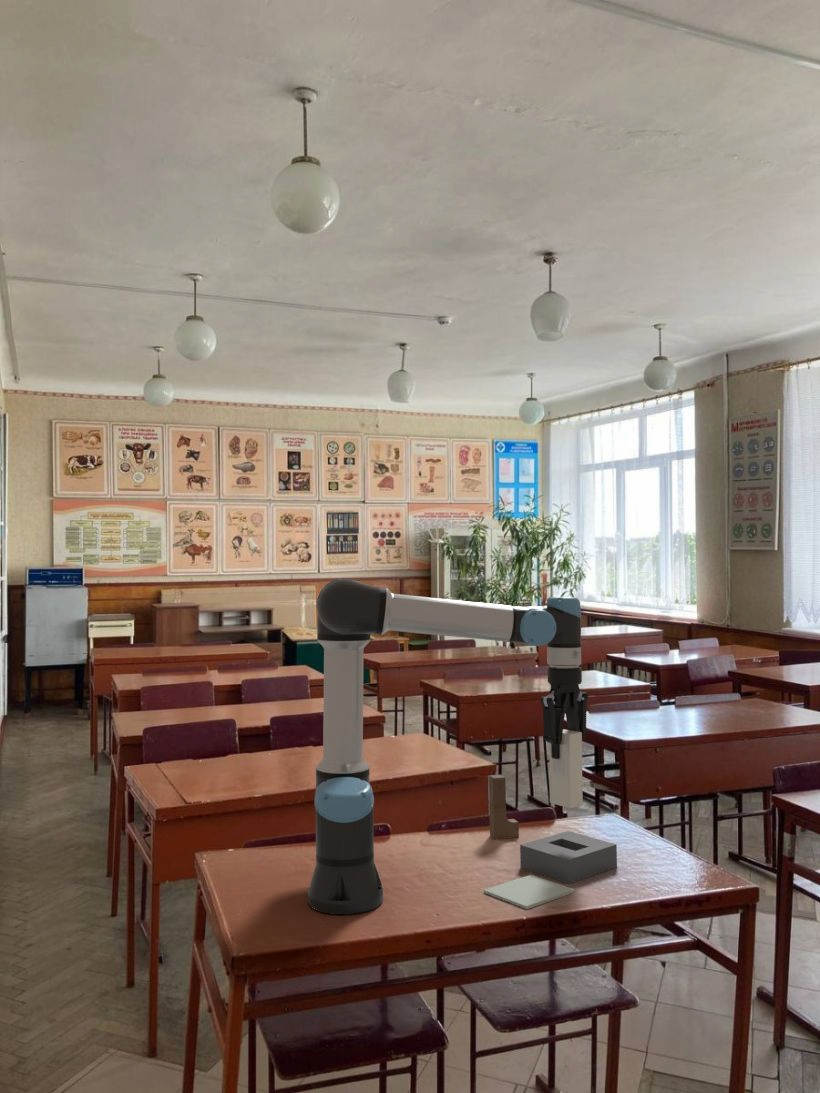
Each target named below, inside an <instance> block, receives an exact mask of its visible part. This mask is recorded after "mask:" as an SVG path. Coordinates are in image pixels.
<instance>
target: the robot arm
mask: <svg viewBox="0 0 820 1093" xmlns="http://www.w3.org/2000/svg"><path fill="white" fill-rule="evenodd" d="M316 610H317V611H316V612H317V615H316V616H317V623H316V624H317V625H316V626H317V628H316V630H317V632H316V633H317V634H316V636H317V637H316V638H317V639H316V641H317V643H319V645H321V646H322V648H323V654H324V655H323V718H322V719H323V720H322V721H323V724H322V726H323V728H322V729H323V731H322V732H323V733H322V734H323V738H322V739H323V740H322V743H323V744H322V755H323V756H322V759H321V761H320V762H319V763H317V765H316V766H315V792H314V801H313V802H314V808H315V866H314V869H313V872H312V876H311V880H310V883H309V887H308V890H307V904H308V903H309V905H310V906H311V907H313V908H315V909H317V910H319V911H322V912H326V913H325V914H327V913H333V914H332V915H337V914H345V915H355V913H356V914H361V913H366V912H368V911H371V910H374V909H376V908H378V907H379V906H381V905H382V904H383V902H384V887H383V884H382V881H381V878H380V875H379V872H378V869H377V867H376V863H375V851H374V850H375V848H374V847H375V846H374V842H375V840H374V836H375V835H374V830H375V829H374V804H375V797H374V792H373V788H372V785H371V784H370V765H369V763H367V761H366V760H365V759H364V756H363V752H364V745H363V744H364V739H363V737H364V733H363V732H364V730H363V729H364V648H365V647H367V645H368V644H369V643H370V642H371V635H372V634H373V635H384V634H386V633H387V632H388V631H391V632H392V631H393V632H394V631H395V632H402V633H403V632H404V633H413V634H422V635H423V634H424V635H435V636H445V637H453V638H454V637H456V638H466V639H473V640H474V639H475V640H485V641H486V640H487V641H496V642H507V643H515V644H525V645H529V646H533V647H541V646H545V645H547V647H546V648H547V649H546V651H547V652H546V655H547V656H546V659H547V660H546V661H547V662H546V663H547V664H548V668H547V683H548V684H549V685H550V690H549V694H548V695H546V696H541V697H540V702H541V706H542V716H543V717H542V718H543V719H542V721H543V722H542V723H543V724H542V725H543V740H544V741H545V742H547V743H551V751H552V752H551V753H552V754H551V756H552V758H553V773H558V774H564V744H561V741H562V733H563V729H564V725H565V723H564V722H565V720H566V725H567V730H571V731H577V732H582V742H583V741H584V738H585V737H587V702H588V700H589V699H588V698H589V693H588V692H585V691H584V692H583V691H581V689H580V686H579V685H581V684H582V681H583V679H582V678H583V674H582V673H583V670H582V668H581V667H580V666H581V665H582V618H583V617H582V610H581V602H580V599H579V598H578V597H576V596H550V597H547V599H546V603H545V605H540V606H537V605H536V606H535V605H534V606H531V605H529V606H528V605H521V606H520V605H519V606H518V605H515V606H512V605H505V604H498V603H497V604H495V603H488V602H487V603H485V602H479V601H478V602H475V601H465V600H456V599H450V598H449V599H447V598H438V597H428V596H420V595H410V594H409V595H408V594H398V593H392V591H390V589H389V588H388V587H380V586H373V585H371V584H365V583H362V582H359V581H357V580H355V579H352V578H345V577H343V578H336V579H333V580H330V581H329V582H328V583H326V584H325V585H324V586H323V588H321V590H320V592H319V594H318V596H317V599H316ZM565 718H566V719H565ZM309 905H308V906H309ZM310 906H309V907H310ZM311 907H310V908H311ZM319 911H318V912H319ZM322 912H321V913H322Z"/></svg>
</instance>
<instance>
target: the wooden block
mask: <svg viewBox="0 0 820 1093" xmlns="http://www.w3.org/2000/svg"><path fill="white" fill-rule="evenodd" d="M506 788H507V786H506V777H505V776H504V775H502V774H493V775H491V774H490V775H488V799H489V800H488V803H489V809H488V810H489V837H491V838H492V839H494V840H503V839H511V838H519V836H520V833H519V832H520V828H519V827H520V825H519V821H517V819H514V818H508V817H507V796H506V794H507V793H506V792H507V789H506Z"/></svg>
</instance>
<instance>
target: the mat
mask: <svg viewBox="0 0 820 1093" xmlns="http://www.w3.org/2000/svg"><path fill="white" fill-rule="evenodd" d="M483 893H484V894H486V895H488V896H491V897H494V898H496V899H499V900H501V899H502V900H501V901H504V900H505V901H504V902H506V901H507V903H509V902H510V904H512V905H515V906H517V907H519V906H520V908H523V909H525V910H530V909H531V908H534V906H535V907H538V906H540V905H543V904H546V903H549V902H551V901H553V900H557V899H560V898H562V897H565V896H567V895H570V894H573V893H575V889H574V888H571V887H570V886H569V887H568V886H566V885H563V884H561V883H557V882H554V881H550V880H548V879H545V878H543V877H539V876H536V875H533V874H529V875H525V876H522V877H518V878H517V879H513V880H510V881H507V882H504V883H502V884H497V885H495V886H492V887H489V888H485V889H484V890H483Z"/></svg>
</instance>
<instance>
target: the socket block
mask: <svg viewBox="0 0 820 1093" xmlns="http://www.w3.org/2000/svg"><path fill="white" fill-rule="evenodd" d="M617 845H618V844H616V843H613V842H610V841H605V840H603V839H602V840H601V839H598V838H595V837H591V836H588V835H584V834H580V833H577V832H572V831H570V830H567V831H563V832H560V833H556V834H554V835H549V836H546V837H542V838H540V839H535V840H532V841H528V842H525V843H522V844H520V845H519V850H520V852H519V853H520V859H519V860H520V869H524V870H527V871H530V872H533V873H536V874H538V875H541V876H545V877H548V878H550V879H554V880H557V881H559V882H562V883H565V884H569V885H570V884H573V883H576V882H578V881H581V880H584V879H587V878H591V877H592V876H595V875H598V874H601V873H605V872H607V871H610V870H612V869H616V868H618V855H617V854H618V853H617V848H618V847H617Z"/></svg>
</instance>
